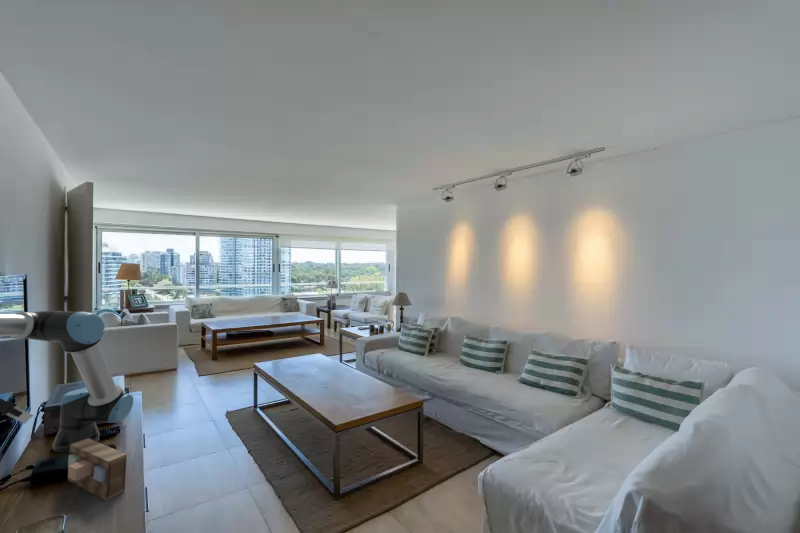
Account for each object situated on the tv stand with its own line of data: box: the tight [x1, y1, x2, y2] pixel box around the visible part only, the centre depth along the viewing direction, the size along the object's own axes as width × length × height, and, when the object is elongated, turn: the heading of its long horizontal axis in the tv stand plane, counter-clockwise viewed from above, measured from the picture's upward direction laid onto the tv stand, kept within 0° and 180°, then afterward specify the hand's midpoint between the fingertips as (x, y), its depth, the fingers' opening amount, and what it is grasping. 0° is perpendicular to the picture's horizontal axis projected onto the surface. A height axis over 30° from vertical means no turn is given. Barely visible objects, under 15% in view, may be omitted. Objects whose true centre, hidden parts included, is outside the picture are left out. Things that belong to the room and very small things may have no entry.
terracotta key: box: [67, 459, 93, 481], centre depth 124 cm, size 4×5×4 cm
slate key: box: [93, 465, 106, 482], centre depth 124 cm, size 4×5×4 cm
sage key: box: [67, 453, 80, 467], centre depth 130 cm, size 4×5×4 cm
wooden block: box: [67, 438, 128, 501], centre depth 128 cm, size 24×6×13 cm, turn 66°
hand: (27, 418), depth 112 cm, fingers closed
